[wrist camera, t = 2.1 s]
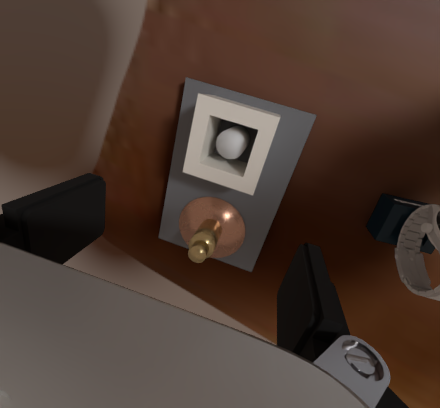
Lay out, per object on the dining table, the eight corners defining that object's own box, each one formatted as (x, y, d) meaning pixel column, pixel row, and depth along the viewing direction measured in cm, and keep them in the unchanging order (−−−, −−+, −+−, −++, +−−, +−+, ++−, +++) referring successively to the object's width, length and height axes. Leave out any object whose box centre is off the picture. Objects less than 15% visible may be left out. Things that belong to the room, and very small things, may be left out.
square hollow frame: (214, 95, 25) (198, 93, 20) (280, 114, 24) (280, 117, 19) (199, 159, 28) (182, 171, 23) (257, 178, 27) (252, 195, 22)
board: (190, 78, 26) (170, 72, 21) (314, 114, 25) (323, 117, 20) (163, 232, 35) (144, 253, 30) (252, 265, 34) (247, 293, 29)
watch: (446, 188, 25) (557, 245, 15) (408, 251, 28) (477, 331, 18) (389, 176, 25) (459, 222, 16) (358, 238, 29) (399, 308, 19)
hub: (186, 187, 30) (165, 206, 24) (254, 210, 29) (248, 235, 23) (174, 243, 34) (153, 271, 28) (234, 265, 33) (224, 298, 27)
